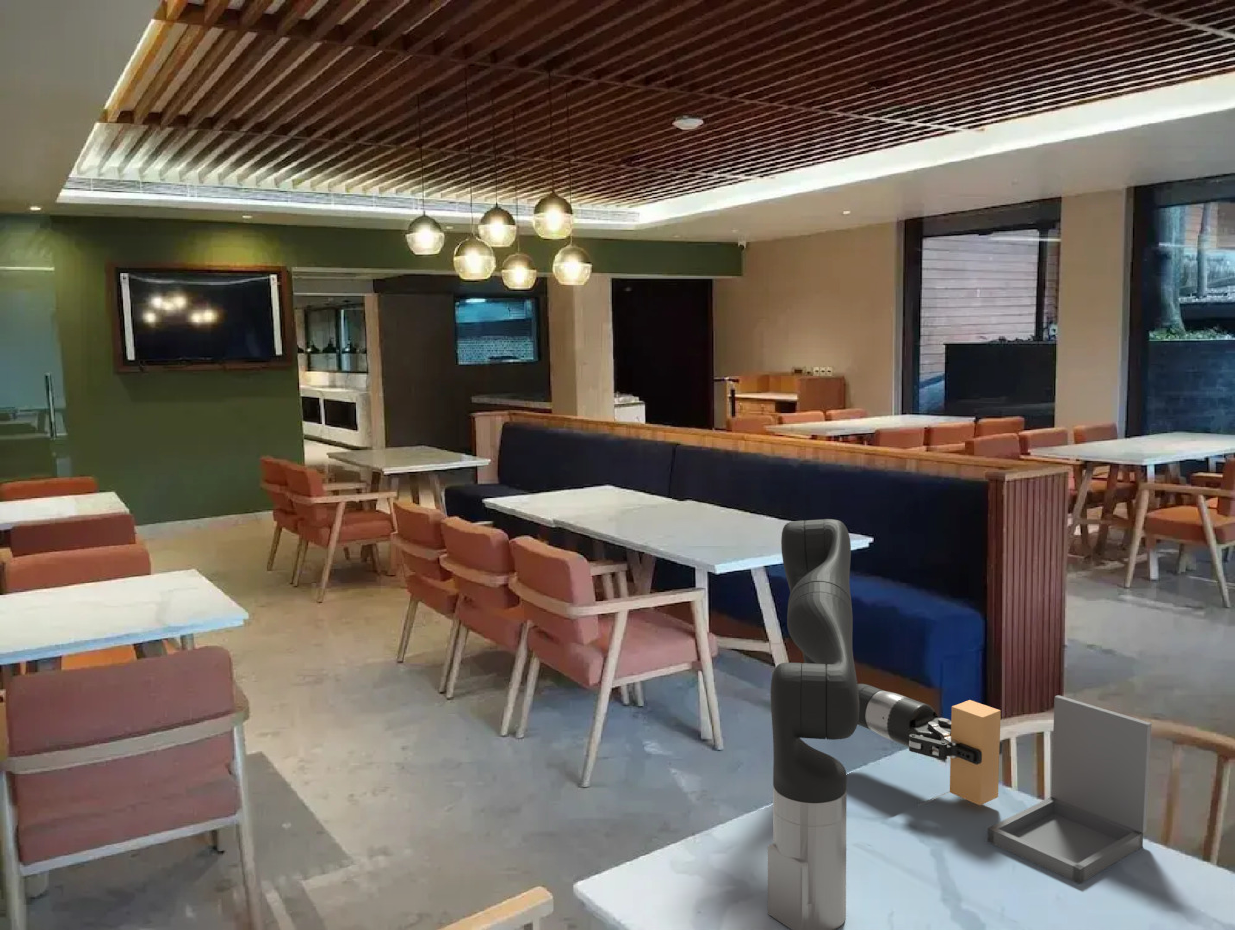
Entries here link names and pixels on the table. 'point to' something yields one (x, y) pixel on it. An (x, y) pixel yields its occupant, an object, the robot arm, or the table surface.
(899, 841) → the table surface
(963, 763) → the block
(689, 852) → the table surface
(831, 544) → the robot arm
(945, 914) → the table surface
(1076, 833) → the case
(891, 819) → the table surface
